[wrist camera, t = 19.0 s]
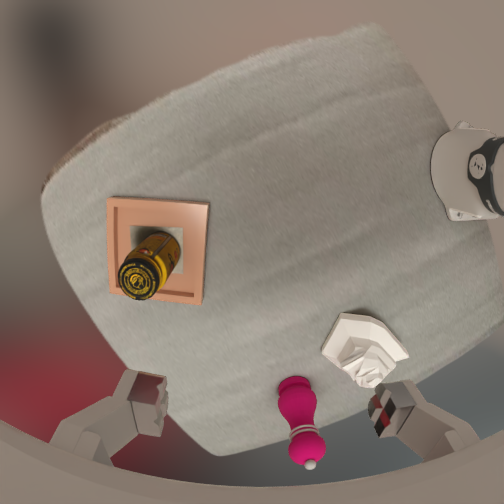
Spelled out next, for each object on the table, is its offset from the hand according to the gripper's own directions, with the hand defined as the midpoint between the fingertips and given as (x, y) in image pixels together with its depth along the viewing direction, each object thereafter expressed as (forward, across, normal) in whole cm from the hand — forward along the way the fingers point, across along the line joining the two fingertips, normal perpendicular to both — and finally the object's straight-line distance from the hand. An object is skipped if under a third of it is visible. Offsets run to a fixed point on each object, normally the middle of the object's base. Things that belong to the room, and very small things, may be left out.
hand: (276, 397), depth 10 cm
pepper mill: (+35, -12, +32) cm, 49 cm away
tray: (+35, +14, +6) cm, 38 cm away
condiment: (+34, +14, +6) cm, 37 cm away
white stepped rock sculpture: (+35, -22, +20) cm, 46 cm away
